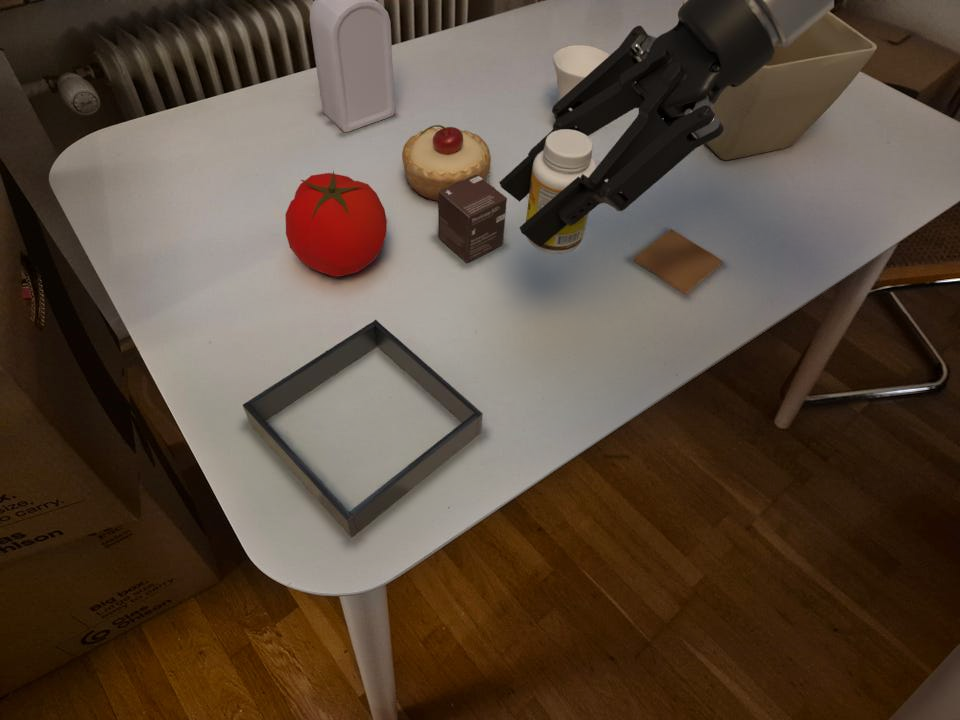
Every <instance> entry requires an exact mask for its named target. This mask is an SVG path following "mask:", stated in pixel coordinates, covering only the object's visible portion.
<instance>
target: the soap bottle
mask: <svg viewBox="0 0 960 720" xmlns="http://www.w3.org/2000/svg"><path fill="white" fill-rule="evenodd" d="M309 26H310V27H309V28H310V34H311V39H312V45H313V46H312V48H313V54H314V61H315V67H316V74H317V81H318V88H319V95H320V103H321V109H322V112H323V113H324V114H325V116H327V117H328V118H329V119H330V120H331V121H332V122H333V123H334V124H335V125H336V126H337V127H338V128H339V129H340V130H341V131H342V132H343V133H349V132H351V131H354V130H357V129H360V128H364V127H365V126H369V125H371V124H374V123H377V122H380V121H383V120H385V119H388V118H391V117H393V116H394V115H395V113H396V107H395V106H396V104H395V103H396V102H395V83H394V64H393V62H394V61H393V46H392V27H391V19H390V16H389V12H388V11H387V9H385V7H384V6H383V5H382V4H381V3H380V2H378V1H377V0H314V1H313V2H312V5H311V7H310V8H309Z"/></svg>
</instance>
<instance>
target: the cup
mask: <svg viewBox="0 0 960 720" xmlns="http://www.w3.org/2000/svg"><path fill="white" fill-rule="evenodd" d="M610 55H611V54H609V53H607V52H606V51H605V50H602V49H600V48H597V47H594V46H589V45H583V44H582V45H581V44H580V45H579V44H575V45H569V46H565V47H562V48H560V49H558V50H557V51H555V53H554V55H553V56H552V62H553V66H554V69H555V73H556V85H557V91H558V94H557V95H558V96H557V97H558V99H557V102H558V101H559V100H560V99H561V98H563V97H564V96H565V95H566V94H567V93H568V92H569V91H570V90H572V89H573V88H574V87H575V86H576V85H577V84H578V83H579V82H581V81H582V80H583V79H584V78H585V77H586V76H587V75H588V74H590V73H591V72H592V71H593V70H594V69H595V68H596V67H597V66H599V65H600V64H601V63H602V62H603V61H604V60H605V59H606V58H608V57H609V56H610ZM569 110H570V111H572V109H571V107H570V108H569Z"/></svg>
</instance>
